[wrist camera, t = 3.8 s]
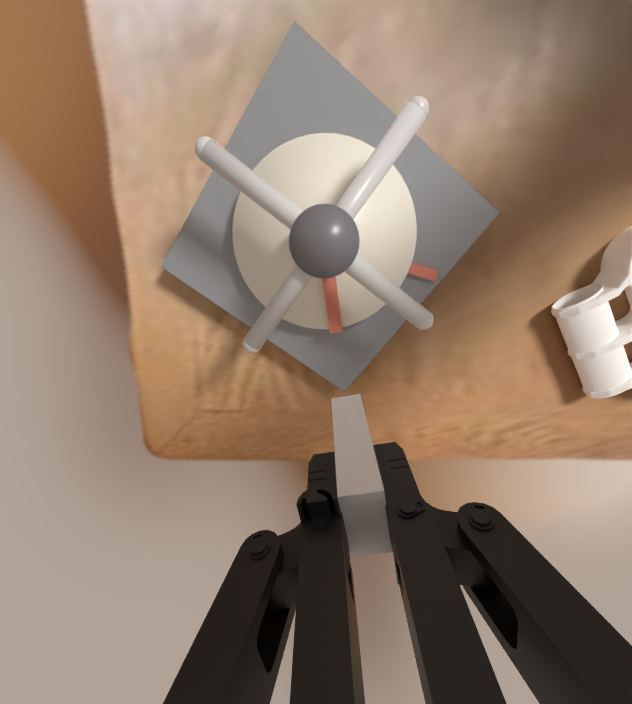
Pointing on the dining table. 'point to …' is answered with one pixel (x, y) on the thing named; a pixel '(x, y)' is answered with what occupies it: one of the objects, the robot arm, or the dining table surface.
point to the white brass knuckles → (600, 323)
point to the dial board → (310, 118)
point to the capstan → (324, 228)
